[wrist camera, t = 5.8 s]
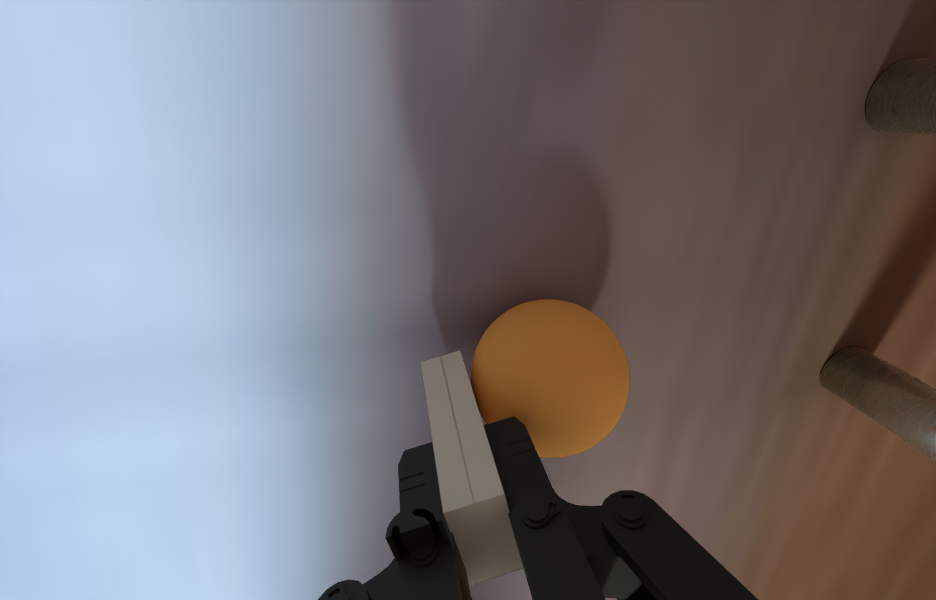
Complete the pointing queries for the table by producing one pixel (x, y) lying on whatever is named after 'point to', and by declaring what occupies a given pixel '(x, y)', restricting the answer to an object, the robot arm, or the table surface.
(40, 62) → the table surface
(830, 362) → the post
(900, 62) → the post
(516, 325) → the ball
